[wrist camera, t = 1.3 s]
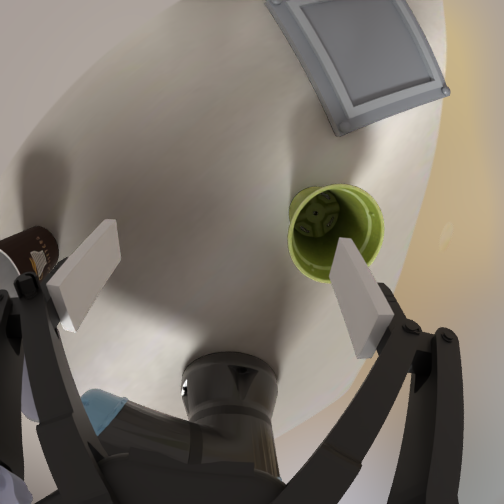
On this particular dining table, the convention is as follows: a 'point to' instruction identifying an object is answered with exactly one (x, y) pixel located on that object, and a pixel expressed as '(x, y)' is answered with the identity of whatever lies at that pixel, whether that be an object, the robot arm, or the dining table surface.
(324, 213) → the plant pot
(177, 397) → the dining table surface
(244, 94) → the dining table surface
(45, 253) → the coffee mug
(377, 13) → the base plate
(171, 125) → the dining table surface
